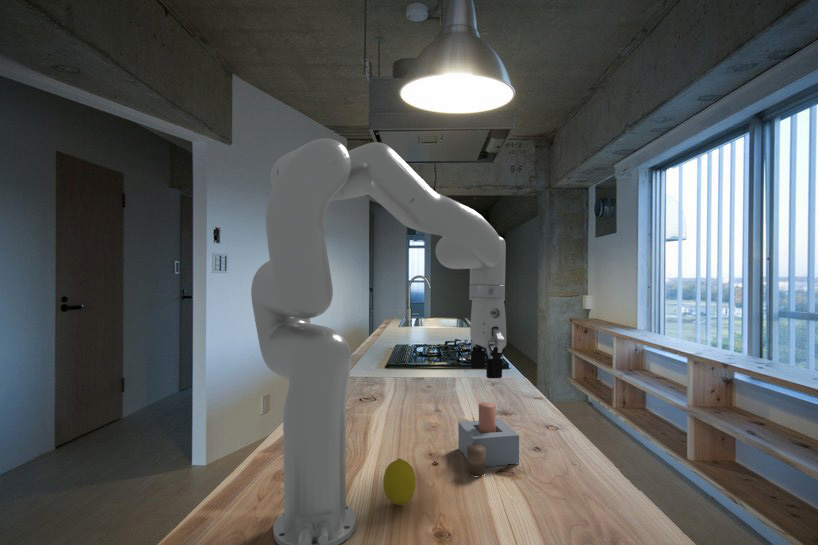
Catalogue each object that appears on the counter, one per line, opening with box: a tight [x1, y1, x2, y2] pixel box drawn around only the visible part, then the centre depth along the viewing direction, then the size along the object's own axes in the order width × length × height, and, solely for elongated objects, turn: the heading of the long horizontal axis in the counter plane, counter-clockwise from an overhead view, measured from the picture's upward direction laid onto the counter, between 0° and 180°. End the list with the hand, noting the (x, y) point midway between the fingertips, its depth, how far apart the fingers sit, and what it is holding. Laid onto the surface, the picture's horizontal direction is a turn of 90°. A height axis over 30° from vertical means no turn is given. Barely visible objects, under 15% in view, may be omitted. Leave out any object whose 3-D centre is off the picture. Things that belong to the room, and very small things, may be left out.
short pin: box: [466, 444, 487, 476], centre depth 87 cm, size 4×4×5 cm
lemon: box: [382, 458, 417, 507], centre depth 75 cm, size 6×6×8 cm
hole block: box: [457, 418, 520, 467], centre depth 95 cm, size 10×10×6 cm
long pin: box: [478, 402, 497, 433], centre depth 95 cm, size 4×4×11 cm
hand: (485, 372), depth 94 cm, fingers open, 9 cm apart
